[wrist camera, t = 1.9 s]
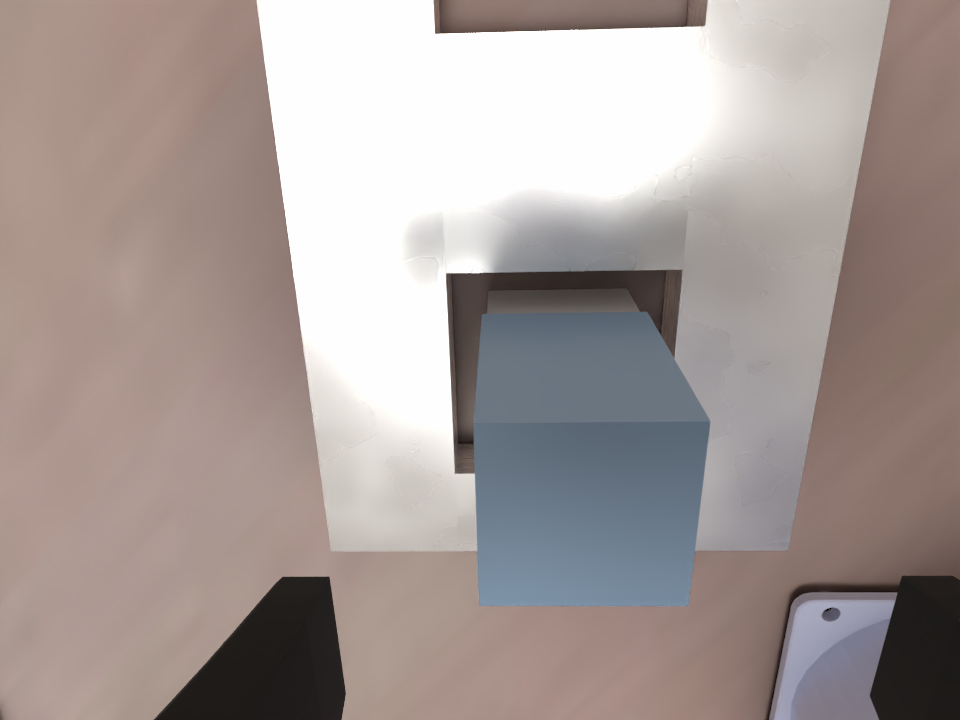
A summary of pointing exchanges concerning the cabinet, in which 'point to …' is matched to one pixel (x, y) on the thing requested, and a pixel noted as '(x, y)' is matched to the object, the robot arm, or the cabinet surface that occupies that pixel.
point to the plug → (583, 454)
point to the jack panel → (564, 226)
